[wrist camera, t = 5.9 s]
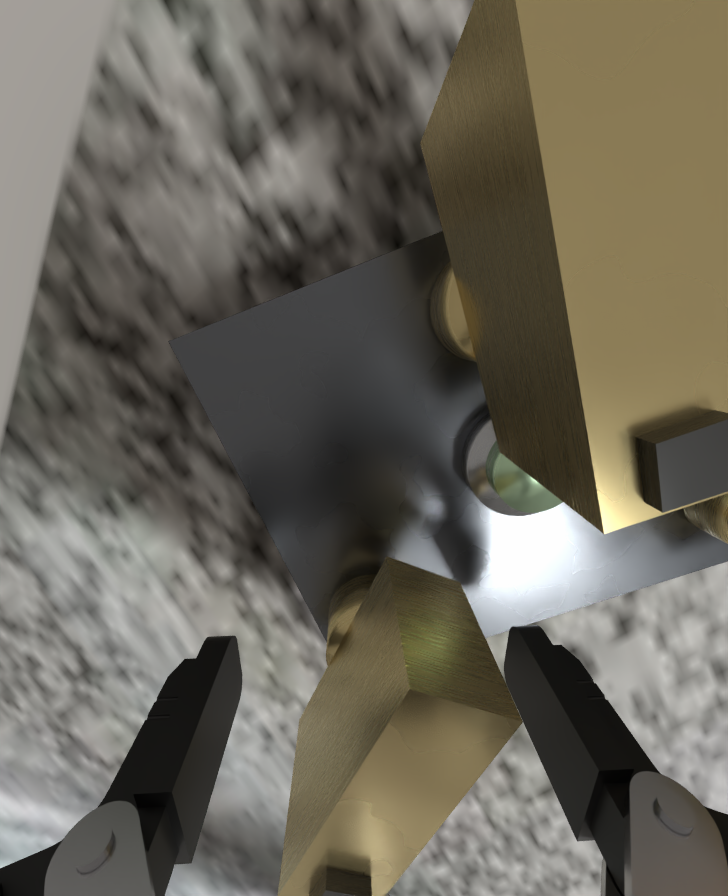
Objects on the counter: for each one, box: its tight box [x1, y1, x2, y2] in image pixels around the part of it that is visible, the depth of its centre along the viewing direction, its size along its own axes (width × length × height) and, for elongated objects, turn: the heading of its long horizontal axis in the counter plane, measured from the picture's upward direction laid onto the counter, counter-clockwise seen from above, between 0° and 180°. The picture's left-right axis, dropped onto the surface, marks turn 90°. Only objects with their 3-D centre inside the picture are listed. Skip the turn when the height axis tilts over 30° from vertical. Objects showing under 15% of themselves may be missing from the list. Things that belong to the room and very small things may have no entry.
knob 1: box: [278, 556, 523, 896], centre depth 9 cm, size 6×3×6 cm, turn 156°
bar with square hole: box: [420, 0, 728, 534], centre depth 6 cm, size 6×3×6 cm, turn 20°
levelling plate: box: [168, 231, 728, 642], centre depth 11 cm, size 16×13×3 cm
